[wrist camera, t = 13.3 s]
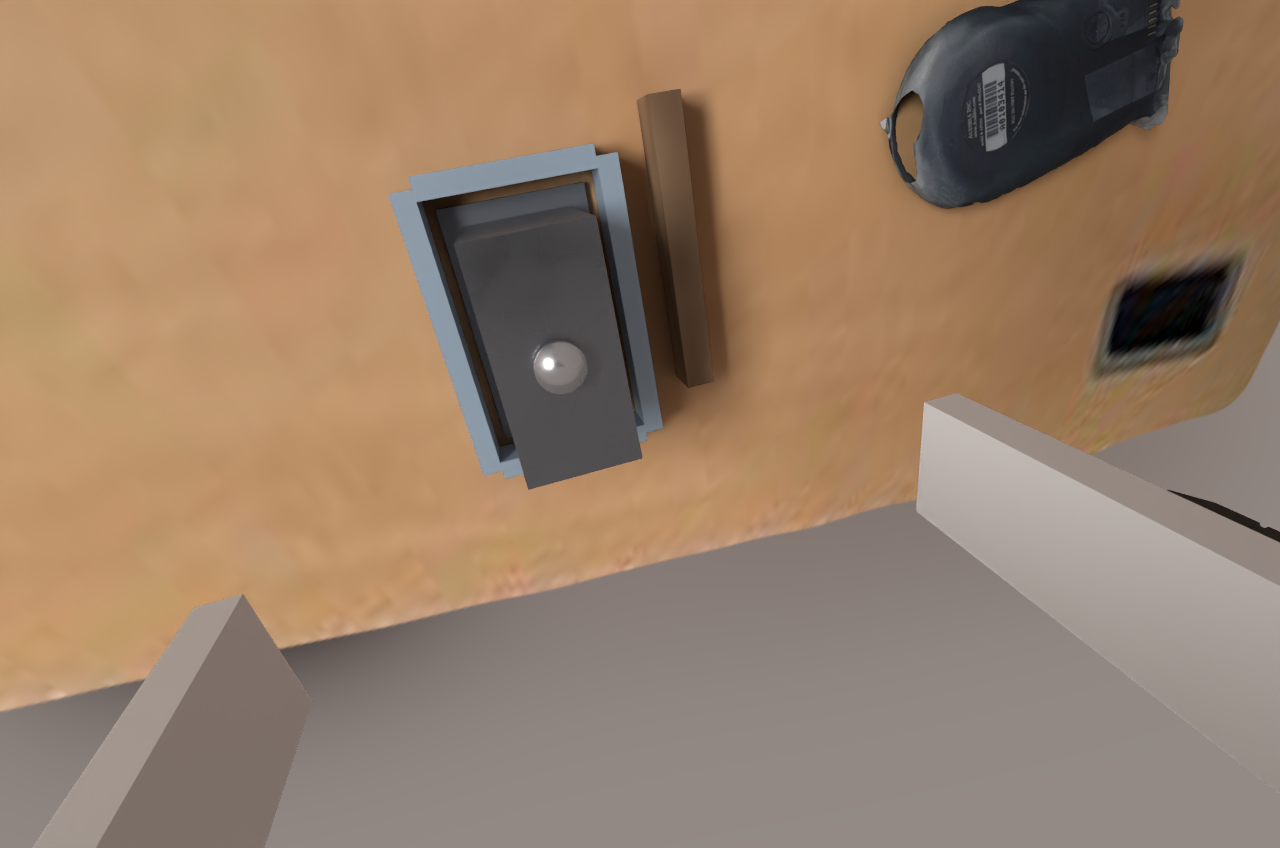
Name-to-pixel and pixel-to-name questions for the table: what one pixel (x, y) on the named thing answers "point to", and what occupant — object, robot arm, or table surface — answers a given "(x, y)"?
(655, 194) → the door edge strip
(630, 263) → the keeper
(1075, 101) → the electronic device
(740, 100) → the table surface
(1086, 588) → the robot arm
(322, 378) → the table surface
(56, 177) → the table surface
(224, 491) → the table surface
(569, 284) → the grey block with knob
